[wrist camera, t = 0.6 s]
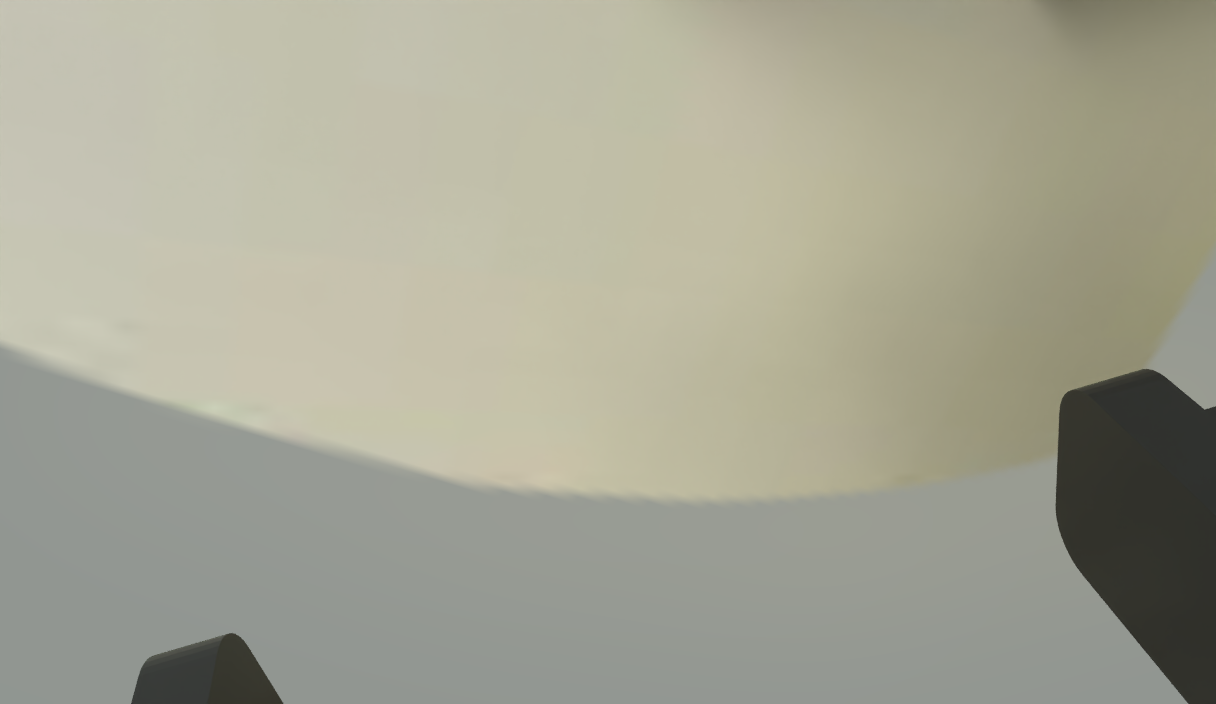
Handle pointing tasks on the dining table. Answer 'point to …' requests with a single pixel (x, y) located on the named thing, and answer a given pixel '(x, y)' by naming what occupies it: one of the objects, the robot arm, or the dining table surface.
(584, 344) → the dining table surface
